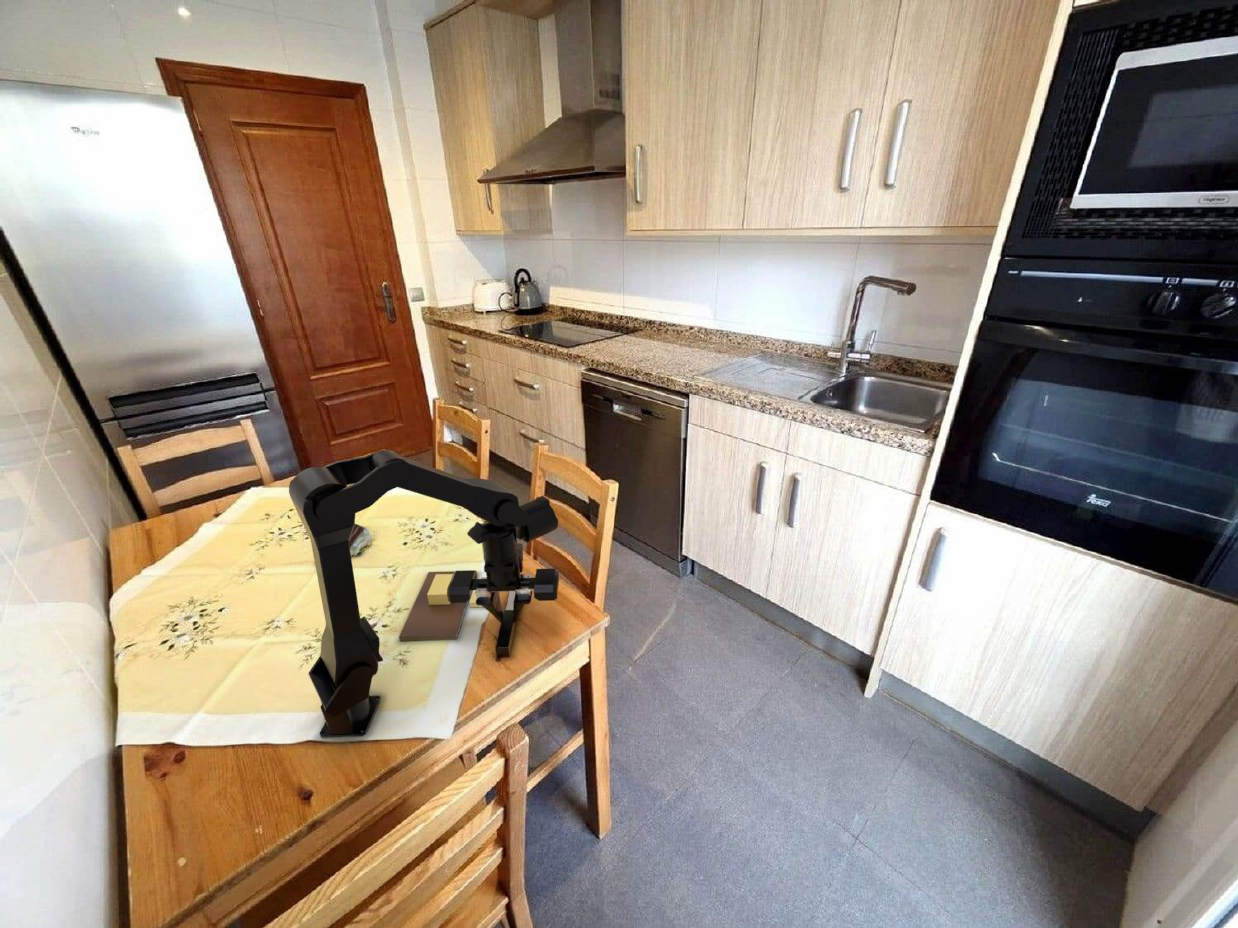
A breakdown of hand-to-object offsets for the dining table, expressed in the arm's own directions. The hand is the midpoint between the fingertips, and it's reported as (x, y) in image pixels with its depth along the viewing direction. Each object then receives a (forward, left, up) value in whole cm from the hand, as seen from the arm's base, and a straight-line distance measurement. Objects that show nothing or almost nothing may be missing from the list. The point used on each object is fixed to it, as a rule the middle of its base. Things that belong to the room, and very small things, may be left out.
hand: (509, 620), depth 92 cm
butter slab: (+8, +6, 0) cm, 10 cm away
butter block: (+8, +14, 0) cm, 16 cm away
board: (+6, +14, -1) cm, 15 cm away
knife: (+3, 0, -1) cm, 3 cm away
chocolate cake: (+24, +39, -1) cm, 46 cm away
